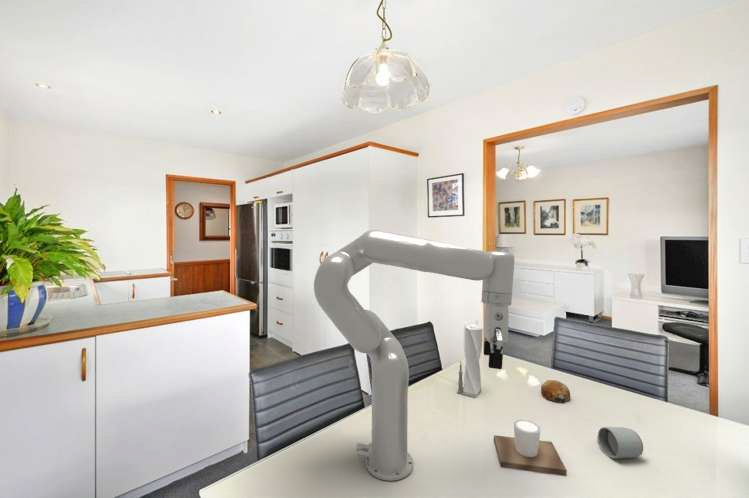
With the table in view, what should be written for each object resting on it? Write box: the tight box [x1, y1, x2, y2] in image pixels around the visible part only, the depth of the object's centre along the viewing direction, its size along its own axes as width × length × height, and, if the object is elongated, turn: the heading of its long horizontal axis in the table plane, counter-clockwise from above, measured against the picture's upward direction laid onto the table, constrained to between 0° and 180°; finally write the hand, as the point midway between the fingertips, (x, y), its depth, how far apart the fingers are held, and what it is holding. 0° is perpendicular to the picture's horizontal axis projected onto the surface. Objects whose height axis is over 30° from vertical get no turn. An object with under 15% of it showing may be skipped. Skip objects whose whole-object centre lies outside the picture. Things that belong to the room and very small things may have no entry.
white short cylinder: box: [513, 419, 541, 457], centre depth 94 cm, size 7×7×7 cm
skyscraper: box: [456, 319, 484, 399], centre depth 131 cm, size 8×8×28 cm
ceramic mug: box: [597, 426, 644, 459], centre depth 96 cm, size 11×8×8 cm
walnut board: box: [493, 434, 568, 477], centre depth 93 cm, size 16×12×2 cm
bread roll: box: [540, 379, 571, 404], centre depth 128 cm, size 10×10×8 cm
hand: (492, 361), depth 90 cm, fingers open, 9 cm apart
